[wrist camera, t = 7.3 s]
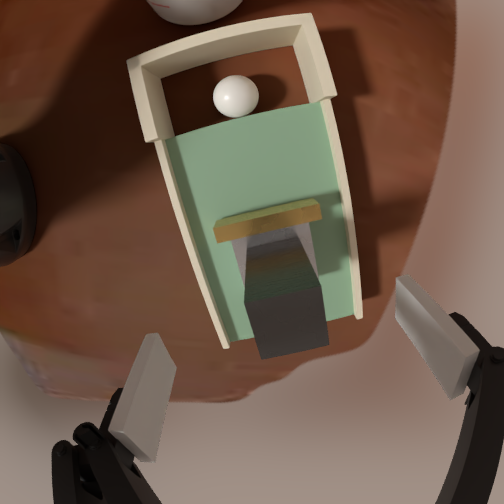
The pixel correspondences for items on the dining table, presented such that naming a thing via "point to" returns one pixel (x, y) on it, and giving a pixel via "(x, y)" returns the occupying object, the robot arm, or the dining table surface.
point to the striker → (279, 276)
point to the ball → (235, 96)
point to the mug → (193, 10)
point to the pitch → (253, 165)
